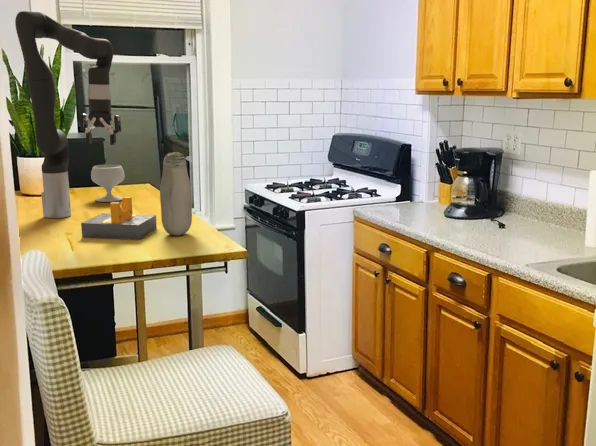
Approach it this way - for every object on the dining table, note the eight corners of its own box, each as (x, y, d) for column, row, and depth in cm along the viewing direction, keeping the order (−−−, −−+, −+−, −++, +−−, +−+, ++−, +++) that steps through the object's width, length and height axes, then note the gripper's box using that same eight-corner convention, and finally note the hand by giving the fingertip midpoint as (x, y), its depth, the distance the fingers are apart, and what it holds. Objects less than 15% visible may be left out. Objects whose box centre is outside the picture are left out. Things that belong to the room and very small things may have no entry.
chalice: (94, 204, 272) (92, 168, 269) (91, 198, 285) (88, 164, 281) (128, 201, 277) (126, 167, 274) (123, 196, 290) (121, 163, 287)
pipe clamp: (120, 214, 226) (119, 196, 224) (132, 215, 225) (131, 196, 224) (106, 222, 214) (105, 203, 213) (118, 222, 213) (117, 203, 212)
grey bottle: (189, 238, 214) (186, 154, 208) (159, 237, 214) (155, 154, 208) (195, 231, 224) (192, 150, 218) (165, 231, 224) (162, 150, 218)
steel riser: (82, 237, 214) (81, 222, 213) (103, 227, 230) (102, 212, 229) (139, 239, 212) (138, 224, 211) (156, 228, 227) (155, 214, 226)
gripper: (75, 97, 222) (77, 144, 225) (114, 98, 219) (115, 146, 223) (85, 96, 229) (87, 142, 232) (123, 98, 227) (124, 144, 230)
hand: (101, 144), depth 228 cm, fingers open, 8 cm apart
